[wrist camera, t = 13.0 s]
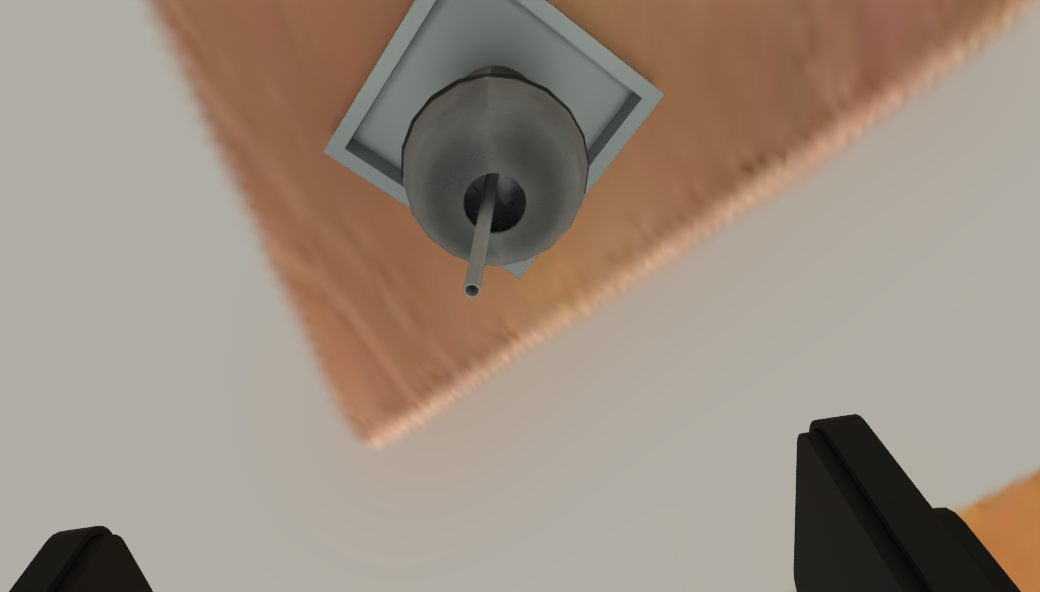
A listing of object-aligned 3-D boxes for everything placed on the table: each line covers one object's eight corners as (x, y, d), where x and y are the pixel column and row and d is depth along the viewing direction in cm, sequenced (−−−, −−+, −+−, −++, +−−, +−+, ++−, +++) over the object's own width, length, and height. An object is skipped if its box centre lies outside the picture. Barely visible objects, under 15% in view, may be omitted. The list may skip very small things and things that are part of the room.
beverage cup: (591, 87, 37) (679, 218, 19) (517, 199, 40) (532, 407, 22) (472, 7, 35) (444, 68, 17) (402, 131, 38) (316, 296, 20)
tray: (460, -68, 34) (457, -70, 32) (652, 84, 38) (664, 94, 35) (335, 138, 38) (322, 152, 36) (517, 257, 42) (519, 278, 39)
